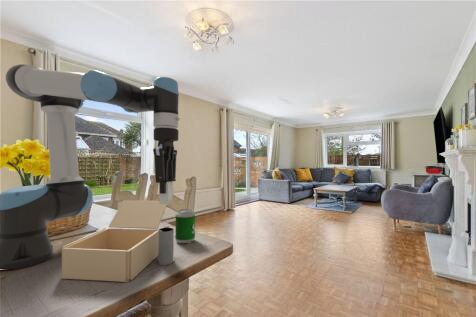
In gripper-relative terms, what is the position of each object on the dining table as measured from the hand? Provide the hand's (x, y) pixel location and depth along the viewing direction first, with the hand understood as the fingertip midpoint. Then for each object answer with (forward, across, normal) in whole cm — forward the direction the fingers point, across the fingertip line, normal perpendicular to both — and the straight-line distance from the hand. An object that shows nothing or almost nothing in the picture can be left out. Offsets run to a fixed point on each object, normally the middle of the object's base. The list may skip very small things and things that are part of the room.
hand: (166, 202), depth 74 cm
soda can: (+19, +19, 0) cm, 27 cm away
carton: (+19, -3, +14) cm, 24 cm away
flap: (+10, +6, +14) cm, 19 cm away
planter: (+19, 0, 0) cm, 19 cm away
